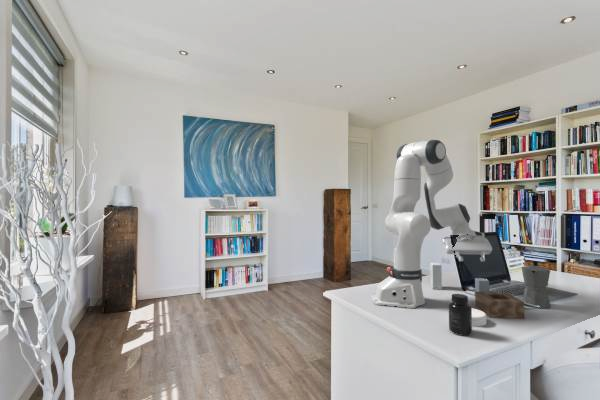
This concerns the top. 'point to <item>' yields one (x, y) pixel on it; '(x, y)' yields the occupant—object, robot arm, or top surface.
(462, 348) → the top surface
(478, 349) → the top surface
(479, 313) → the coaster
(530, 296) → the coffeepot
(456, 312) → the supplement bottle
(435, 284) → the skincare box
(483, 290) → the square peg
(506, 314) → the socket block
